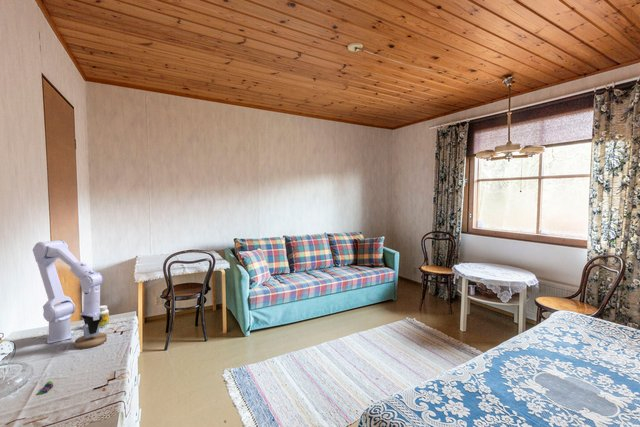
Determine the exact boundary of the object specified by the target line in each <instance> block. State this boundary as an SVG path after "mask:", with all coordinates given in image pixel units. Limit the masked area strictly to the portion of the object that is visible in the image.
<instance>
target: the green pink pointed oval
mask: <svg viewBox="0 0 640 427" xmlns="http://www.w3.org/2000/svg"><path fill="white" fill-rule="evenodd" d="M53 387H54V382H53V381H51V380H50V381H48V382H46V383H45V384H44V385H43V387H42V388H41V389H40V390H39V391H38V392H37V394H35V396H42V395H44V394H48V392H50V390H51V389H53Z"/></svg>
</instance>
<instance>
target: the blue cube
mask: <svg viewBox="0 0 640 427" xmlns="http://www.w3.org/2000/svg"><path fill="white" fill-rule="evenodd" d="M99 333H100V327H99V325H98V328H97V331H96V333H94V334H90V333H89V328H88V324H85V323H84V324H83V336H85V337H86V338H89V337H93V336H97V335H99Z"/></svg>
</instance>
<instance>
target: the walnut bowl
mask: <svg viewBox="0 0 640 427" xmlns="http://www.w3.org/2000/svg"><path fill="white" fill-rule="evenodd" d="M104 342H105V343H106V342H107V333H104V332H99V335H97V336H93V337H89V338H86V337H85V336H84V335H81V336H78V338H75V341H74V348H75V349H79V350H87V349H88V350H89V349H93V348H96V347H99V346H101V345H104Z"/></svg>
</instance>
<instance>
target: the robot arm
mask: <svg viewBox="0 0 640 427" xmlns="http://www.w3.org/2000/svg"><path fill="white" fill-rule="evenodd" d="M32 252H33V257H34V258H35V261H36V263H37V266H38V270H39V273H40V276H41V279H42V280H41V281H42V283H43V287H44V290H45V293H46V296H47V301H46V303H45V304H43V306H42V308H43V314H42V315H43V318H44V320H46V322H48V334H47V336H46V339H47V340H46V342H47V344H54V343H57V342H63V341H67V340H72V338H73V337H72V331H71V317H72V316H73V314H74V313H75V311H76V304H75V303H74V301H73V300H72V297H70V296H68V295H65V292H64V291H63V290H64V289H63V286H62V284H61V280H60V277H59V274H58V270H57V267H56V264H55V262H56V260H57V259H60V260H61V261H62V262H64V263H65V264H66V265H68V267H70V272H71V273H72V274H73V275H74V276H75V277H76V278H77V279H78V280H79V285H80V287H81V290H82V291H81V292H83V300H82V301H83V311H82V312H79V315H80V316H81V318H82V319H83V321H84V325H85V324H88V328H89V333H90V334H94V333H96V331H97V328H98V325H99V323H100V321H101V319H102V317H101V316H100V317H99V313H100V306H101V285H103V283H104V281H105V278H104V275H103V274H102V273H101V272H99V271H95V270H93V269H92V268H91V267H90V266H89V265H88V264H87V263H86V262H84V261H79V260H78V259H77V257H76V256H75V255H74V254H73V253H72V251H70V250H69V244H67V243H66V241H65V240H63V239H57V240H50V241H39V242H36V243H35V245H34V246H33V248H32Z"/></svg>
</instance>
